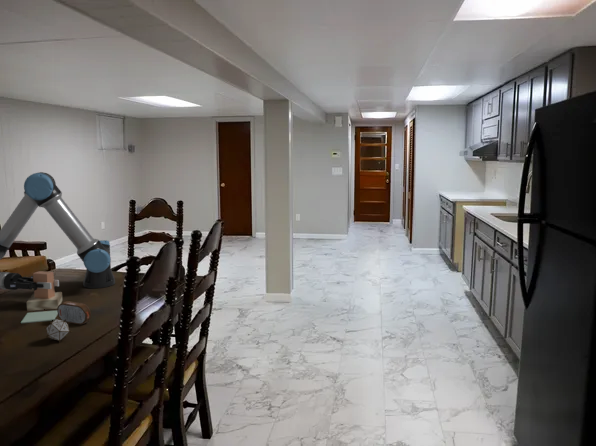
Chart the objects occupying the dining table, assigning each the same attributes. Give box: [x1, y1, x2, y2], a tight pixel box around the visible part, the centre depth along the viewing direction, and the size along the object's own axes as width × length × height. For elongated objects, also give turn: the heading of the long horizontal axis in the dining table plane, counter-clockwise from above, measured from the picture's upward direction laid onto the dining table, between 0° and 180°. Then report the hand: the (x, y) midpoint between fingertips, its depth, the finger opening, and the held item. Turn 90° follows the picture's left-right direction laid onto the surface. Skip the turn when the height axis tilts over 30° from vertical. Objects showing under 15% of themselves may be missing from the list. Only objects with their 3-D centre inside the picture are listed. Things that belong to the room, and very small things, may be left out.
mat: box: [20, 309, 58, 324], centre depth 197 cm, size 12×12×1 cm
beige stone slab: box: [26, 291, 63, 312], centre depth 211 cm, size 12×12×4 cm
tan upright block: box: [32, 270, 56, 299], centre depth 210 cm, size 7×4×11 cm, turn 78°
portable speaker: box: [56, 300, 92, 326], centre depth 190 cm, size 15×3×8 cm, turn 71°
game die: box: [43, 316, 73, 344], centre depth 172 cm, size 9×8×10 cm
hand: (54, 284), depth 209 cm, fingers closed on tan upright block, 4 cm apart
